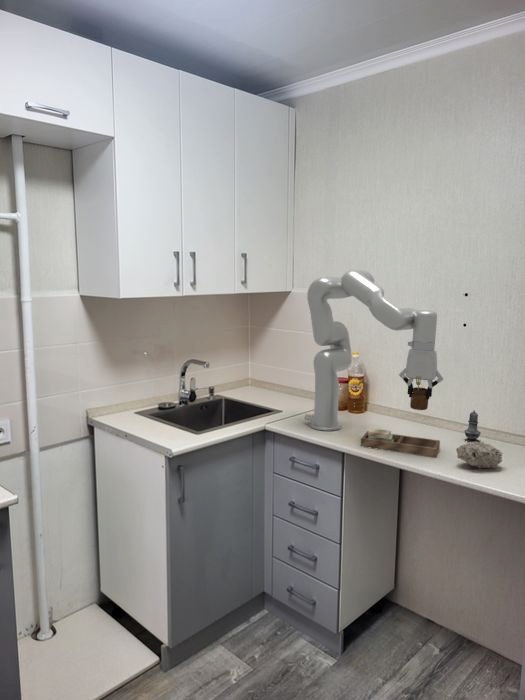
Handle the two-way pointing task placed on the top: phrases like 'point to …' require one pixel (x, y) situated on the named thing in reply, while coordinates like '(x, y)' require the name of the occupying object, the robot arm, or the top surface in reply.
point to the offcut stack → (380, 435)
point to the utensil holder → (419, 397)
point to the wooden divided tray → (405, 445)
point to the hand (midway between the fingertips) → (419, 397)
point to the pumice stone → (480, 455)
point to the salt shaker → (472, 428)
